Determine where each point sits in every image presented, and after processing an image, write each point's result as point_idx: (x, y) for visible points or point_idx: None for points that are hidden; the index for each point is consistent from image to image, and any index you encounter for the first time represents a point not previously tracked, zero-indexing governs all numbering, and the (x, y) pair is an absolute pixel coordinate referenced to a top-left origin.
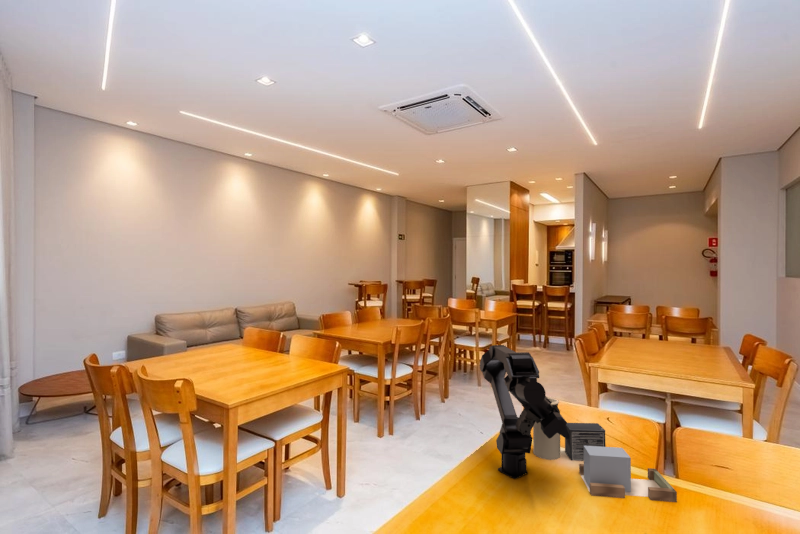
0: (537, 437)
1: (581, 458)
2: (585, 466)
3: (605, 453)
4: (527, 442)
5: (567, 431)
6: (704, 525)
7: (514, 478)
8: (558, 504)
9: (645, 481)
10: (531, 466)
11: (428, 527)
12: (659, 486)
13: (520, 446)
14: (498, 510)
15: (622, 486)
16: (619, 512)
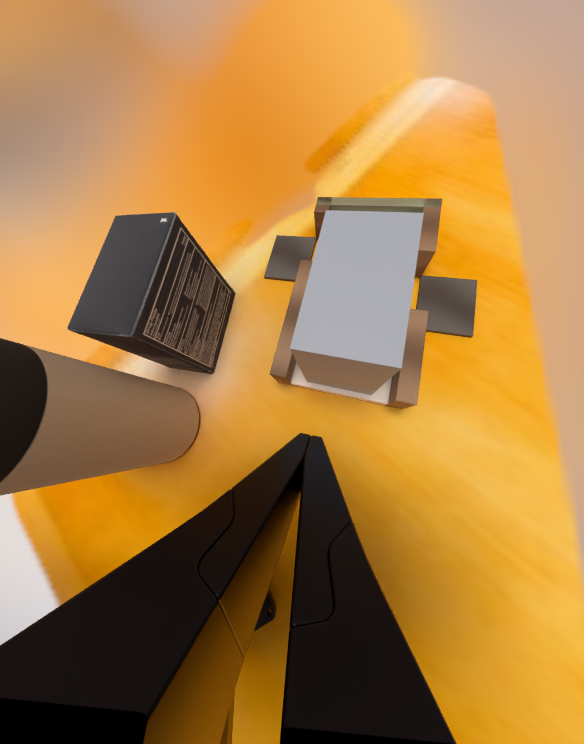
0: (111, 472)
1: (213, 341)
2: (322, 375)
3: (380, 290)
4: (228, 711)
5: (333, 474)
6: (506, 215)
7: (274, 613)
8: (436, 528)
9: None
10: (207, 500)
11: None
12: None
13: (231, 739)
14: None
15: (417, 313)
16: (468, 366)
